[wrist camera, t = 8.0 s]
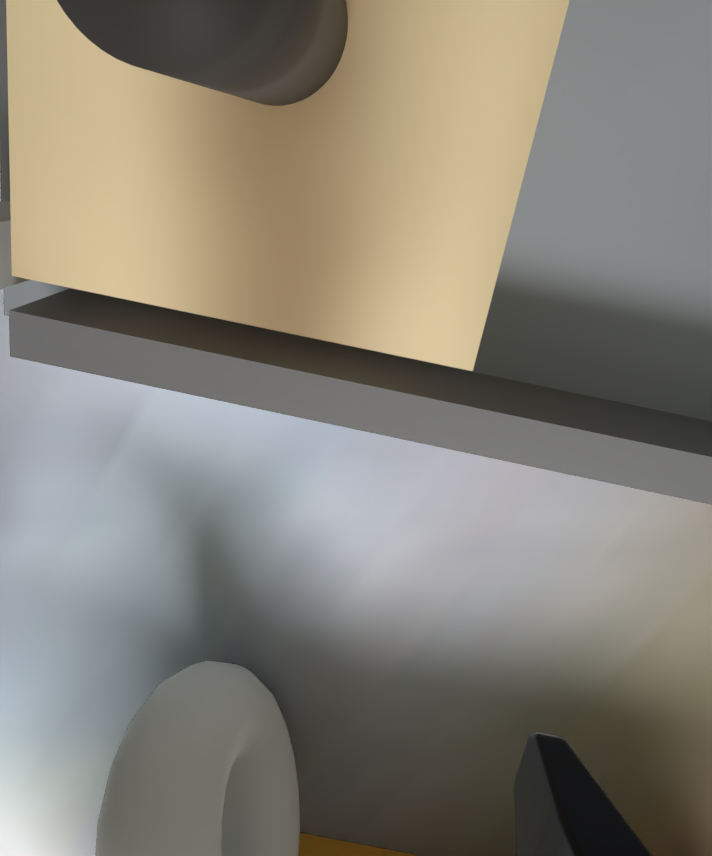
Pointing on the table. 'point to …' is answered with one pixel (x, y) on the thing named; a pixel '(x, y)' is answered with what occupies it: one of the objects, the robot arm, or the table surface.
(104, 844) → the donut
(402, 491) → the table surface
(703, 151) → the tray
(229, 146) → the beige block with peg
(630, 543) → the table surface
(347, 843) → the bread
